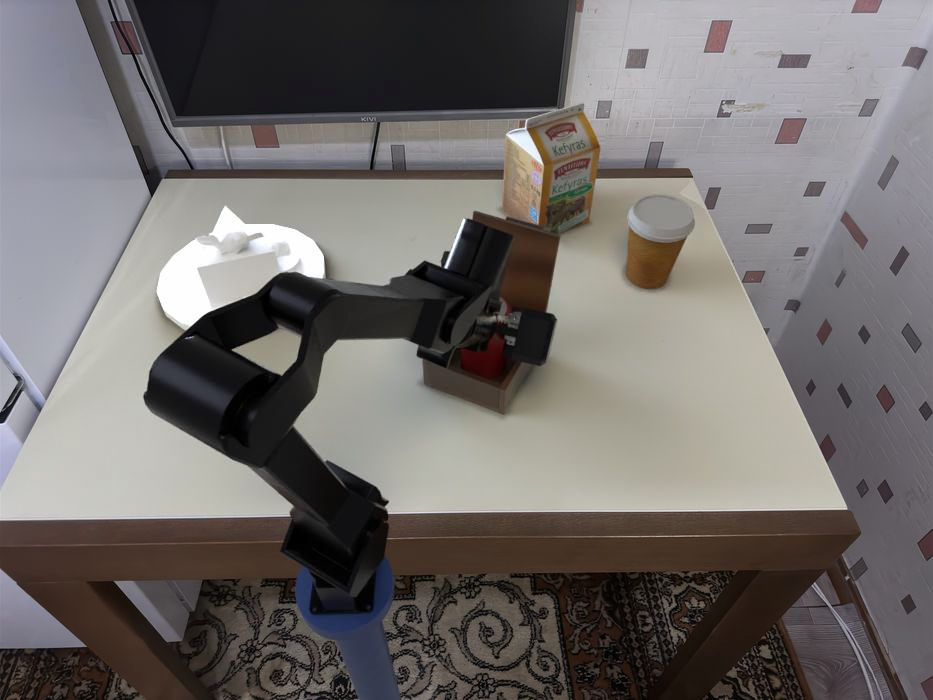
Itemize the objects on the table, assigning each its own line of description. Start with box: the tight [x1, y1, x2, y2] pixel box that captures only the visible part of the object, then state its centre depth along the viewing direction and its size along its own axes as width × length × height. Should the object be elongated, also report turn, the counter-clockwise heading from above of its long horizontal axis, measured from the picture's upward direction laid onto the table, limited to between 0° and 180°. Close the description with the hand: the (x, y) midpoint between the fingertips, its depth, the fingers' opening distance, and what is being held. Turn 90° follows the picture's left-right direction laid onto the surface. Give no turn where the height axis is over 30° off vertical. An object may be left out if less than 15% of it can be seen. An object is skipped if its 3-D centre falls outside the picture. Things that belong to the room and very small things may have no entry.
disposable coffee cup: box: [625, 193, 696, 290], centre depth 100 cm, size 10×10×12 cm
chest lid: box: [471, 210, 561, 315], centre depth 89 cm, size 13×12×4 cm
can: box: [461, 296, 511, 379], centre depth 87 cm, size 6×6×10 cm
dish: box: [156, 205, 327, 331], centre depth 99 cm, size 25×25×11 cm
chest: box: [421, 348, 533, 415], centre depth 90 cm, size 13×12×5 cm
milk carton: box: [501, 102, 602, 235], centre depth 108 cm, size 10×11×19 cm
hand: (487, 325), depth 87 cm, fingers closed on can, 6 cm apart
